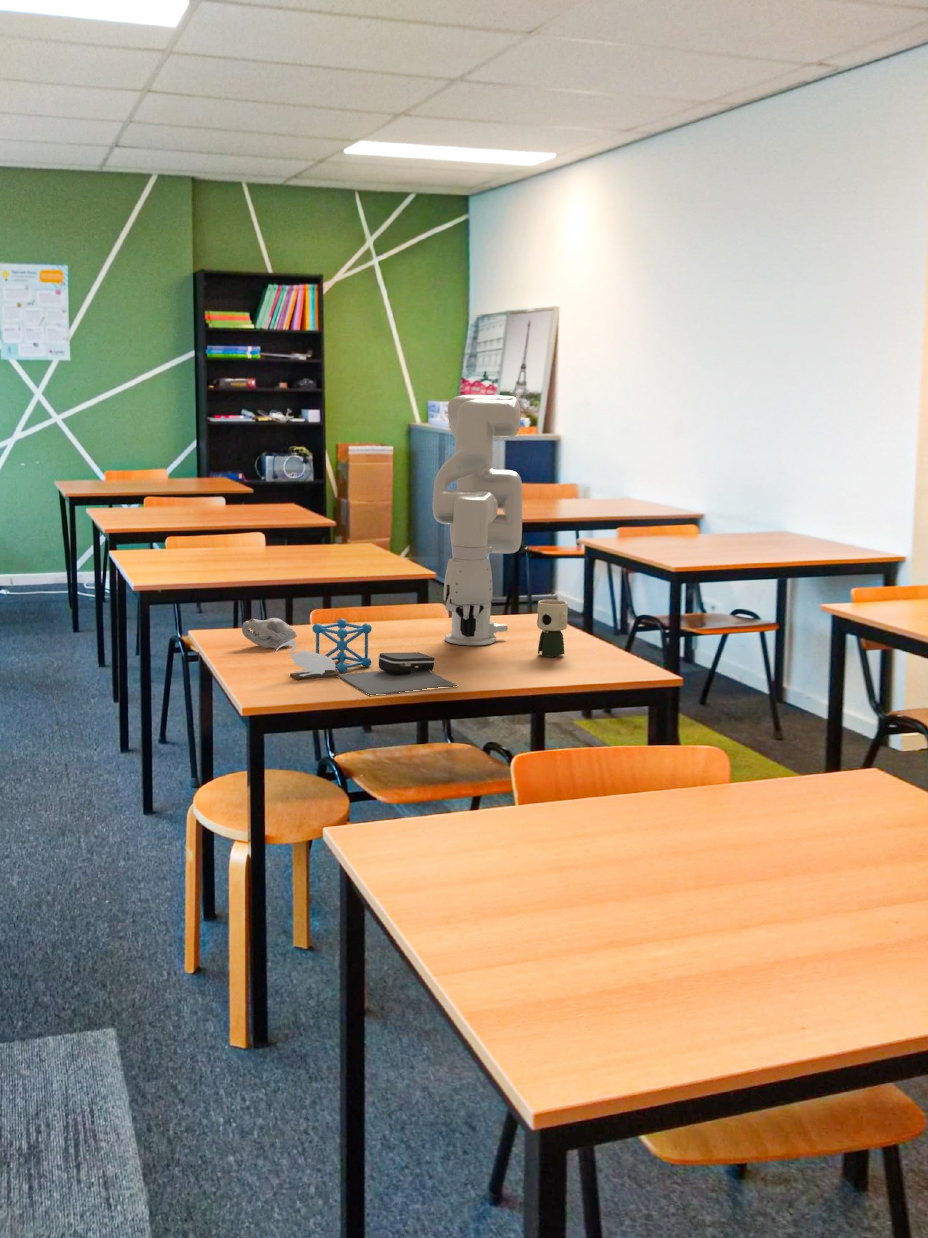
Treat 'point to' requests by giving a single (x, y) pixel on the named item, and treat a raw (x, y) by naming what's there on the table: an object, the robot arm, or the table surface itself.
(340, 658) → the molecular structure
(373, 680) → the mat
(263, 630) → the skull
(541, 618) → the character mug
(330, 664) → the figurine
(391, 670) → the battery charger
